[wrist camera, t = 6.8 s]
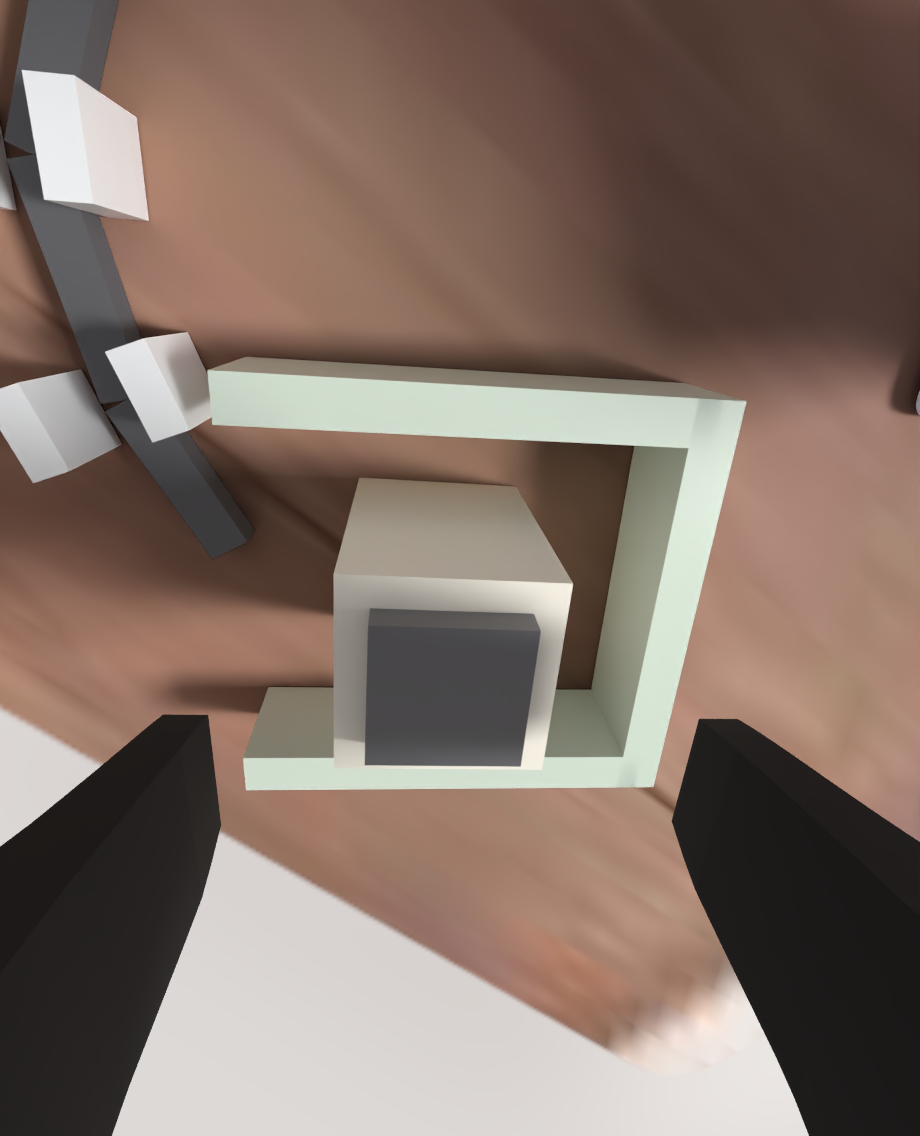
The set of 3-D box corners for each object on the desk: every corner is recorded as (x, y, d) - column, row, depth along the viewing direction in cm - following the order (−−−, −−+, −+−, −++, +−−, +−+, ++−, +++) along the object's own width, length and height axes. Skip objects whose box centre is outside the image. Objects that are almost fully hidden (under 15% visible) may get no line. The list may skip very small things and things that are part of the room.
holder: (684, 383, 15) (746, 401, 12) (617, 717, 19) (653, 786, 16) (245, 356, 14) (207, 370, 11) (270, 715, 18) (246, 790, 15)
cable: (187, -485, 9) (169, -551, 9) (258, 548, 16) (251, 560, 15) (-96, -538, 9) (-141, -615, 8) (97, 543, 16) (81, 555, 15)
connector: (499, 622, 17) (548, 792, 11) (356, 618, 17) (329, 791, 11) (515, 486, 16) (582, 599, 10) (359, 477, 15) (329, 590, 9)
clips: (227, -267, 10) (177, -430, 8) (270, 462, 15) (245, 491, 13) (-139, -325, 10) (-308, -518, 7) (27, 452, 15) (-44, 480, 12)
